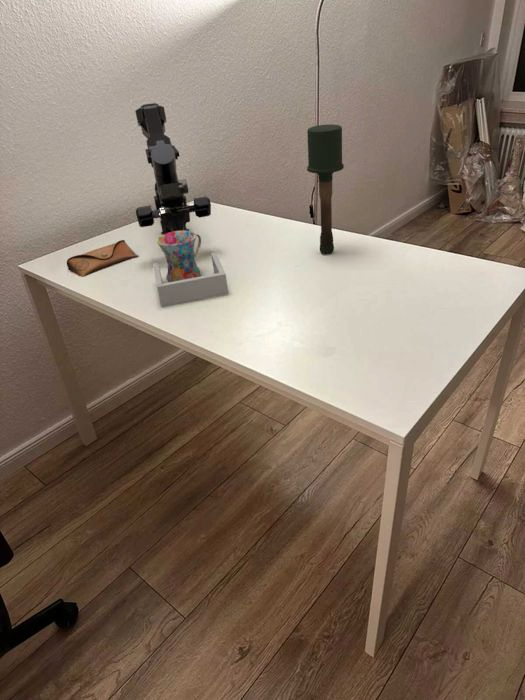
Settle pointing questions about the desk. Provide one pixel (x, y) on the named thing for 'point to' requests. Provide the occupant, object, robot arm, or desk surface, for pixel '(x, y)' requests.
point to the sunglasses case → (100, 258)
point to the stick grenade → (325, 173)
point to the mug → (180, 254)
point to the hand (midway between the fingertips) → (180, 241)
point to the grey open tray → (192, 286)
